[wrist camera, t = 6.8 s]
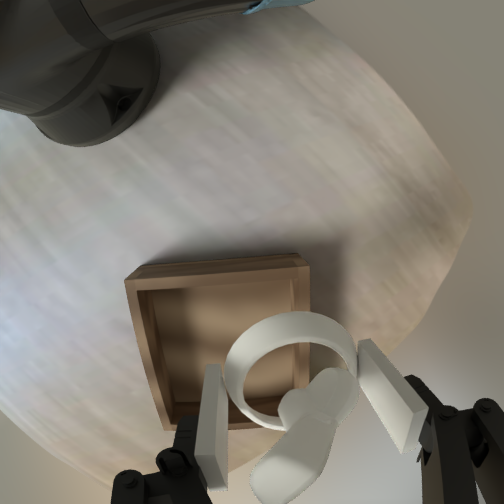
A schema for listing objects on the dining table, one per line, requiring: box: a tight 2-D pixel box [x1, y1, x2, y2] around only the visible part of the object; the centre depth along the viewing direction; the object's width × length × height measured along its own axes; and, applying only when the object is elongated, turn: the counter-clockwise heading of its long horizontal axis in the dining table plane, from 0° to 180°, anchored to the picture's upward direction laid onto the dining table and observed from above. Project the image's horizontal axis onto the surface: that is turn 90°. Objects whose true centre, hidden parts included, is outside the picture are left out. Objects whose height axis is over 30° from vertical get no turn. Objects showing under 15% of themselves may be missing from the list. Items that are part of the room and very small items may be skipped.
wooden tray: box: [124, 253, 310, 431], centre depth 29 cm, size 18×16×5 cm
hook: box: [224, 311, 360, 504], centre depth 12 cm, size 8×12×7 cm
